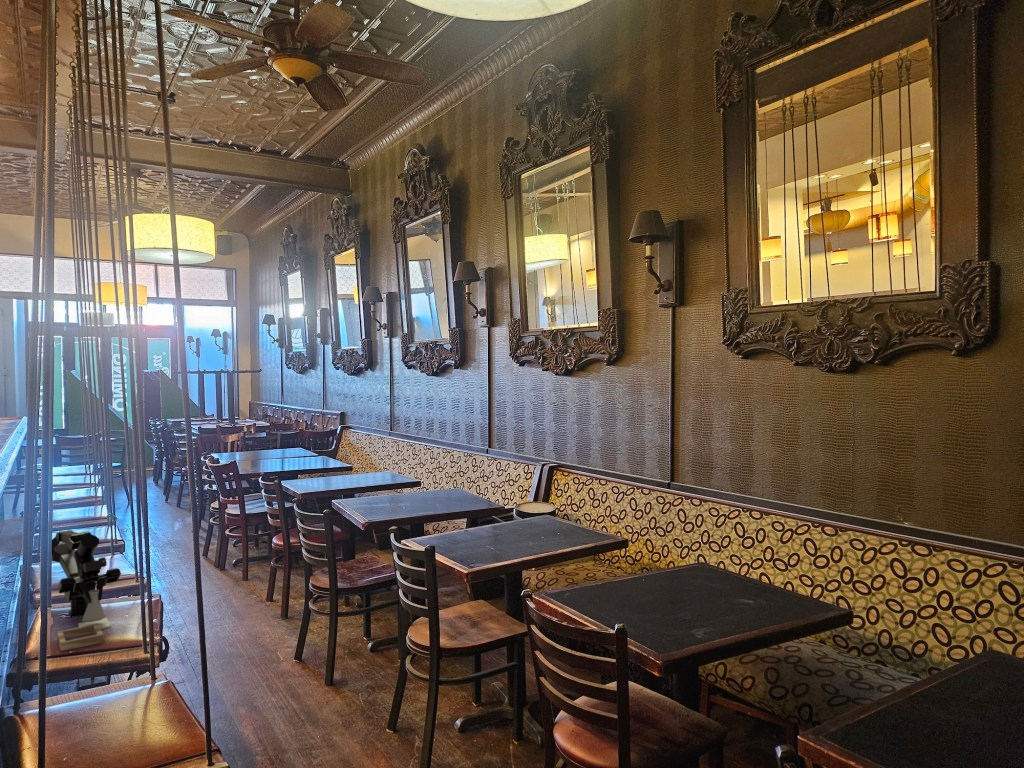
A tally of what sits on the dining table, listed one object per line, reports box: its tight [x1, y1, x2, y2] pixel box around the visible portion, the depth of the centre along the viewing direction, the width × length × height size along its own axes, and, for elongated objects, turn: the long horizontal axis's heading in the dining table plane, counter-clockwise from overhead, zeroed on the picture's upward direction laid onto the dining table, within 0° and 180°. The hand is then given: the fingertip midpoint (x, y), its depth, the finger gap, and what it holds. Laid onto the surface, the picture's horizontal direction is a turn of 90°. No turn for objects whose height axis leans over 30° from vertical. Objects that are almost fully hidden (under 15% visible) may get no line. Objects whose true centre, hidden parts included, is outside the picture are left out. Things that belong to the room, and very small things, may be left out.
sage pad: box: [77, 617, 112, 630], centre depth 242 cm, size 9×9×1 cm
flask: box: [82, 589, 106, 622], centre depth 242 cm, size 7×7×10 cm
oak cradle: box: [56, 624, 105, 652], centre depth 230 cm, size 12×12×2 cm
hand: (95, 601), depth 241 cm, fingers closed on flask, 3 cm apart
